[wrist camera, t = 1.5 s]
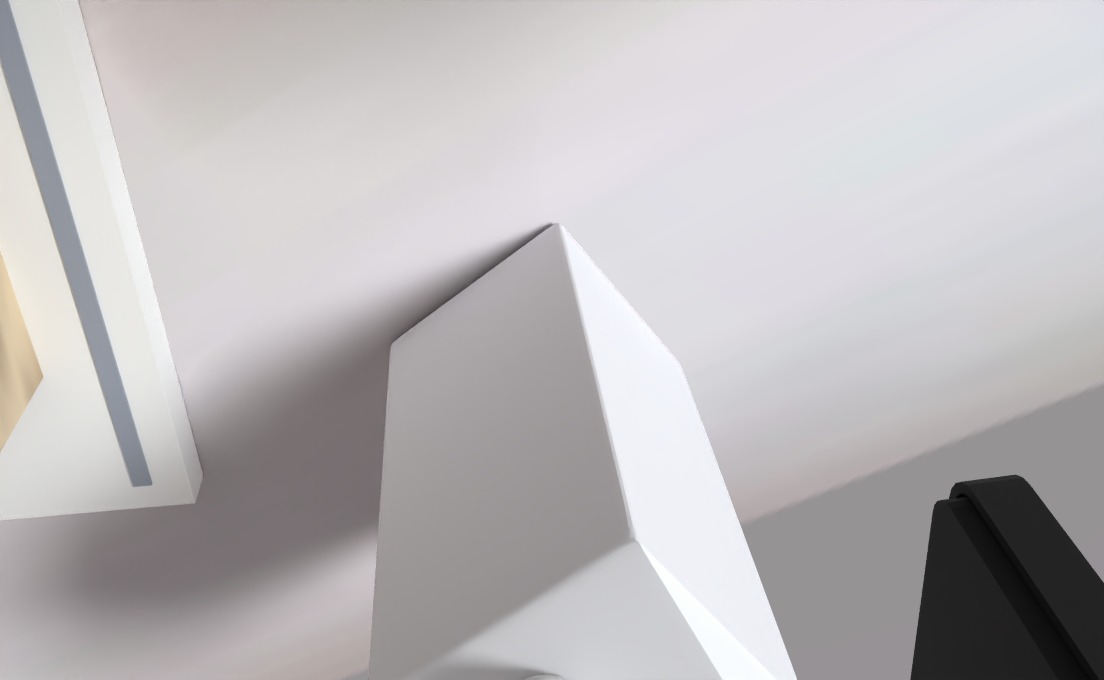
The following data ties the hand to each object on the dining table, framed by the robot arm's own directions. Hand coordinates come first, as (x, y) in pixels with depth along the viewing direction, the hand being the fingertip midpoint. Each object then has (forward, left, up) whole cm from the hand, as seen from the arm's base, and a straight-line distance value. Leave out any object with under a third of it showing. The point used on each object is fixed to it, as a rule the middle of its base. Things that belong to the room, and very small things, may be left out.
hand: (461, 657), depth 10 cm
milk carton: (+11, +2, -24) cm, 26 cm away
